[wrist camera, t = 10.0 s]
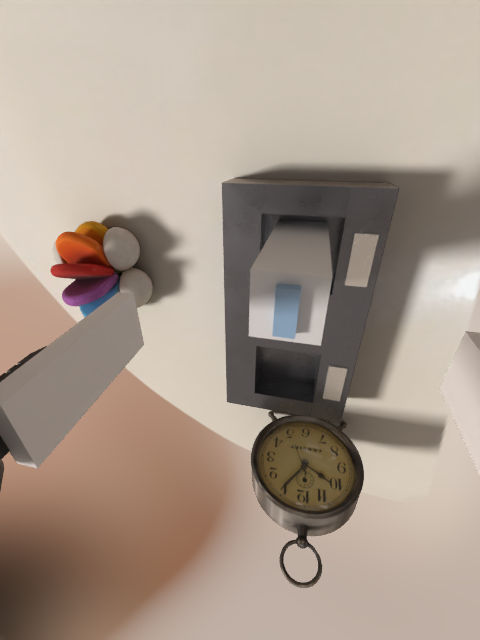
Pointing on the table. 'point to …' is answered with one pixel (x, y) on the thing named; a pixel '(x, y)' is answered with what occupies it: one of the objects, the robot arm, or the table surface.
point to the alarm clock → (306, 478)
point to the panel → (344, 300)
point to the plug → (291, 283)
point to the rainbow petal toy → (99, 266)
